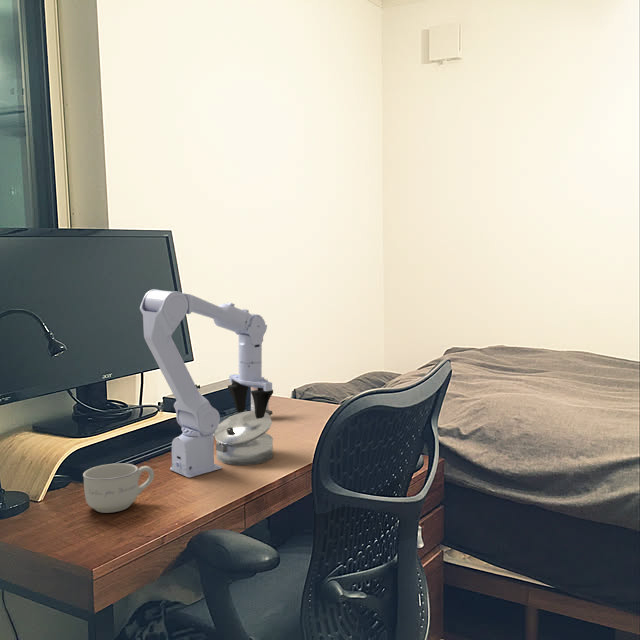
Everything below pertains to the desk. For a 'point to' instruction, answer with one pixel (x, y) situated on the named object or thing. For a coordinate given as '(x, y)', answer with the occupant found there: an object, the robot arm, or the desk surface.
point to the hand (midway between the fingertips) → (250, 414)
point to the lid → (242, 428)
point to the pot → (247, 451)
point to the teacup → (114, 486)
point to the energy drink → (253, 400)
